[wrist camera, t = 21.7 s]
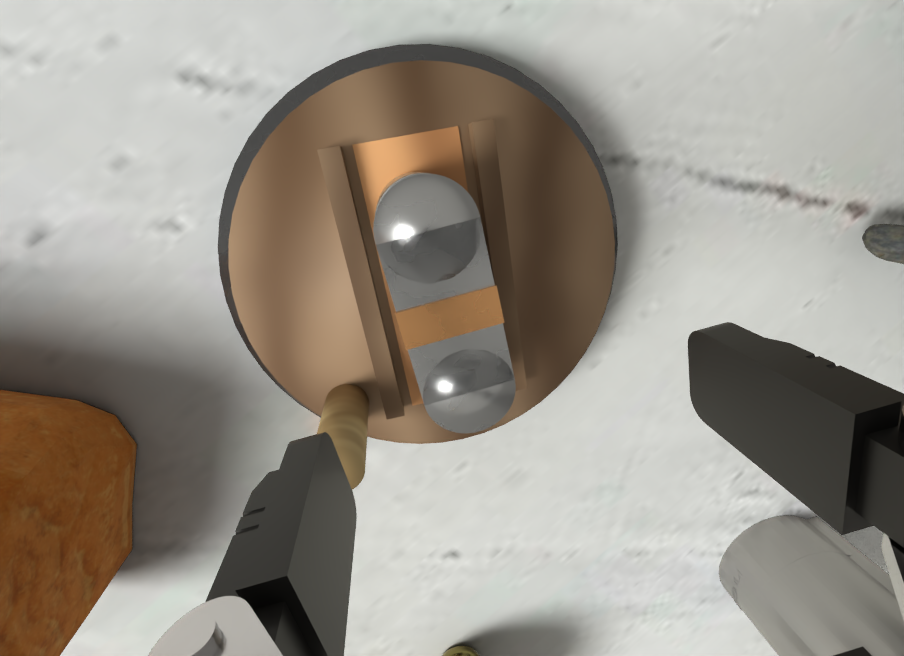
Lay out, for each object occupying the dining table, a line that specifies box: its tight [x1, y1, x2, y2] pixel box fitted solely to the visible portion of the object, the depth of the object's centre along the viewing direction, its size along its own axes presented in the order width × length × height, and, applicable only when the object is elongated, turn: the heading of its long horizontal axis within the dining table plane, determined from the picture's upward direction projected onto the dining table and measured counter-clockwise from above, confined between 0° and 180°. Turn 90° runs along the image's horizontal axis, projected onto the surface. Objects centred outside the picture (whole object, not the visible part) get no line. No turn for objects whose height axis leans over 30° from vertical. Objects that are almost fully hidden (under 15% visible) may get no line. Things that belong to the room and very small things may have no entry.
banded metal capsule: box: [373, 172, 516, 433], centre depth 21 cm, size 4×11×6 cm, turn 14°
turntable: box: [229, 60, 615, 489], centre depth 21 cm, size 20×20×8 cm
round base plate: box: [218, 44, 617, 417], centre depth 26 cm, size 22×22×2 cm
